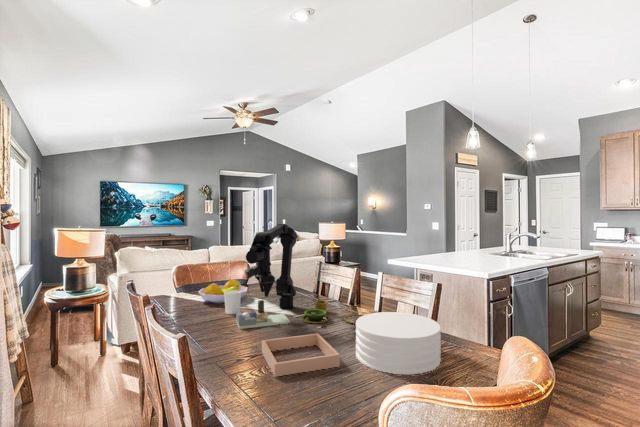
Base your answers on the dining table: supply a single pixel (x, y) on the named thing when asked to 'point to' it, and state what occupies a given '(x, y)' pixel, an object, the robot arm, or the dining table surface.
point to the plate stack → (398, 342)
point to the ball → (246, 315)
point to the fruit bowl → (221, 291)
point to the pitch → (252, 322)
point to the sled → (260, 312)
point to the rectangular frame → (299, 365)
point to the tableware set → (319, 314)
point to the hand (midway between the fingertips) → (264, 294)
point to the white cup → (232, 301)
